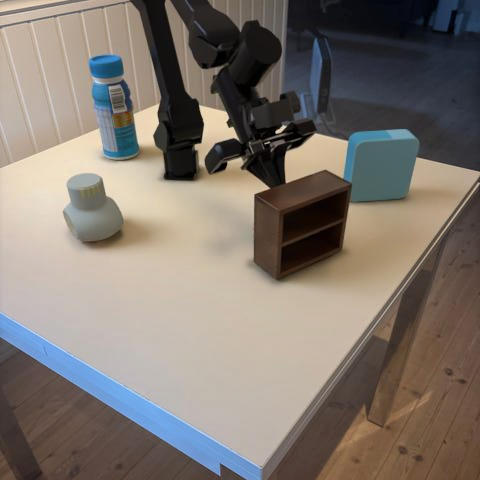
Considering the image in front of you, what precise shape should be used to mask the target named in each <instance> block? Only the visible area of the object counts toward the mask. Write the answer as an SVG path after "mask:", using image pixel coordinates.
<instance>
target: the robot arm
mask: <svg viewBox="0 0 480 480" xmlns="http://www.w3.org/2000/svg"><path fill="white" fill-rule="evenodd" d="M169 1H170V3H171V4H172V6H173V8H174V9H175V11H176V13H177V14H178V16H179V17H180V19H181V20H182V22H183V24H184V26H185V27H186V30H187V32H188V39H187V40H188V41H187V45H188V47H189V50H190V52H191V55H192V57H193V59H194V61H195V63H196V64H197V66H198V67H199V68H200V69H201V70H213V69H216V68H221V69H219V71H218V72H217V74H213V75H212V80H211V81H212V82H211V84H210V87H209V89H210V94H211V95H216V94H218V96H219V98H220V101H221V103H222V105H223V107H224V110H225V112H226V114H227V116H228V119H227V121H226V122H225V123H226V125H227V128H228V129H231V128H233V130H234V131H235V134H236V137H237V138H235V137H233V138H229V139H225V140H221V141H218V142H214V144H213V145H212V147H211V148H210V150H209V151H208V152H207V154H206V155H205V157H204V167H205V169H206V171H207V173H208V175H209V176H213V175H216V174H219V173H222V172H225V171H226V170H227V167H228V164H229V163H228V162H231V161H234V160H238V159H241V161H242V162H243V164H242V165H241V166H240V170H241V171H247V172H248V173H250V174H251V175H253V176H254V177H255V178H256V179H258V180H260V181H261V182H262V183H263V184H264V185H266V187H268V189H271V188H273V187H276V186H279V185H282V184H285V183H287V179H286V177H287V176H286V154H287V152H290V151H293V150H296V149H299V148H300V147H302V146H303V145H305V144H306V143H307V142H308V141H309V140H310V139H311V138H312V137H313V136H314V135H316V134H317V133H318V129H317V125H316V124H315V122H314V119H312V118H310V117H304V118H300V119H296V117H295V114H298V113H300V112H301V109H302V106H301V100H300V98H299V97H298V94H297V92H296V91H295V90H293V89H292V90H290V91H286V92H284V93H281V94H279V98H278V100H275V101H272V102H270V100H269V98H267V96H264V97H261V96H260V93H259V91H258V89H257V87H259V86H260V85H261V84H262V83H263V82H264V81H265V80H266V78H267V77H268V75H269V74H270V73H271V72H272V71H273V69H274V67H275V66H276V65H277V64H278V62H279V61H280V59H281V57H282V56H283V46H282V43H281V40H280V38H279V37H277V36H276V35H275V34H274V32H272V31H271V30H270V29H268V28H266V27H264V26H261V24H260V22H259V20H258V19H250V20H246V21H244V23H243V25H242V28H241V30H240V29H239V28H238V26H237V25H236V23H235V22H234V21H233V20H232V19H231V18H230V17H229V16H228V15H227V14H226V13H224V12H222V11H220V10H218V9H216V8H214V7H213V5H212V4H211V3H210V1H209V0H169ZM129 2H130V3H131V4H132V5H133V7H134V8H135V9H136V10H137V11H138V13H139V16H140V21H141V25H142V28H143V32H144V36H145V39H146V43H147V47H148V51H149V55H150V58H151V62H152V67H153V70H154V74H155V79H156V82H157V87H158V90H159V93H160V101H159V105H158V108H157V112H156V113H157V114H156V115H157V121H158V125H157V126H156V129H155V131H154V132H153V134H152V138H153V141H154V145H155V147H156V148H157V149H159V150H160V151H162V155H163V157H162V158H163V165H164V173H163V179H164V180H179V181H180V180H181V181H193V180H194V179H195V177H196V176H197V174H198V173H199V170H200V159H199V150H198V149H196V145H200V144H202V142H203V135H204V129H205V123H204V118H203V116H202V112H201V108H200V102H199V100H198V99H197V98H193V97H192V96H191V95H190V94H189V93H188V92H187V90H186V87H185V82H184V78H183V74H182V70H181V65H180V61H179V58H178V54H177V48H176V44H175V41H174V40H175V39H174V36H173V32H172V28H171V24H170V19H169V15H168V12H167V8H166V2H167V0H129ZM285 122H289V123H288V124H287V125H286V126H285V128H283V130H281V131H280V132H277V131H279V130H280V129H282V127H283V123H285Z"/></svg>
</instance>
